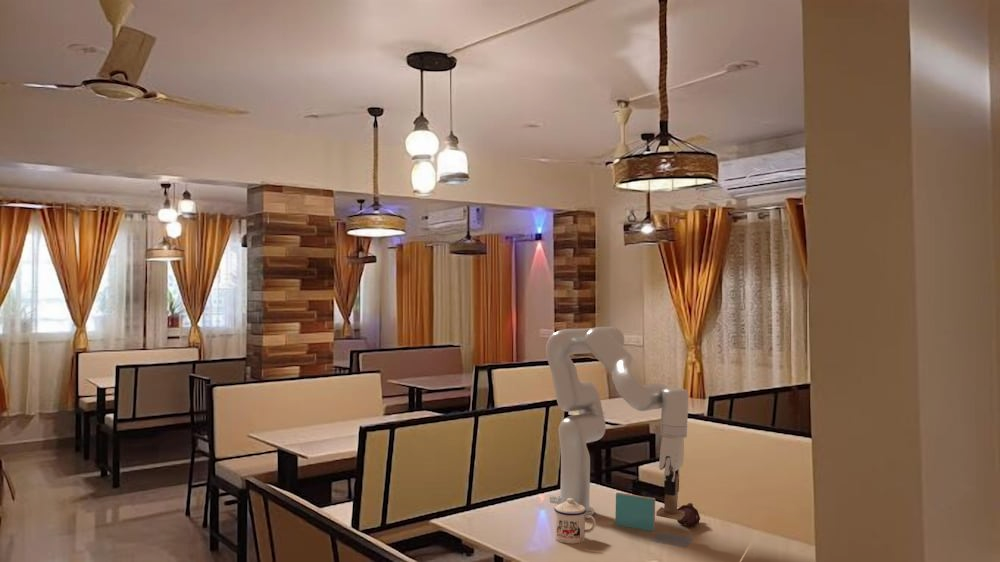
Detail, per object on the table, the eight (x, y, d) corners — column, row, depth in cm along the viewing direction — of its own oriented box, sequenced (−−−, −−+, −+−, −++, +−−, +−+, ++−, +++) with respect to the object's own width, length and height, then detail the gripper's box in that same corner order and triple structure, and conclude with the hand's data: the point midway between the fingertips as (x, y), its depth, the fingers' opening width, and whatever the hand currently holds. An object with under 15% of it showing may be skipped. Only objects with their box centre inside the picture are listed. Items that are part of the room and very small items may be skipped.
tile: (615, 525, 222) (615, 493, 222) (617, 524, 223) (617, 492, 223) (653, 532, 216) (653, 499, 216) (654, 531, 218) (655, 498, 218)
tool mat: (651, 542, 208) (651, 540, 208) (660, 533, 215) (660, 532, 215) (686, 548, 203) (686, 547, 203) (693, 539, 211) (693, 538, 211)
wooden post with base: (656, 515, 209) (657, 474, 209) (661, 511, 214) (662, 470, 214) (680, 520, 206) (681, 478, 206) (684, 515, 210) (686, 474, 210)
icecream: (702, 514, 214) (703, 505, 229) (677, 505, 217) (680, 496, 231) (695, 536, 214) (697, 526, 228) (671, 527, 217) (674, 517, 231)
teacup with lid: (552, 542, 206) (552, 501, 206) (556, 532, 215) (557, 493, 215) (594, 546, 203) (594, 505, 203) (596, 536, 212) (597, 496, 212)
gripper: (668, 424, 219) (666, 484, 219) (653, 433, 204) (650, 497, 204) (693, 427, 215) (690, 488, 215) (679, 437, 201) (676, 502, 201)
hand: (671, 492), depth 210 cm, fingers closed on wooden post with base, 3 cm apart
